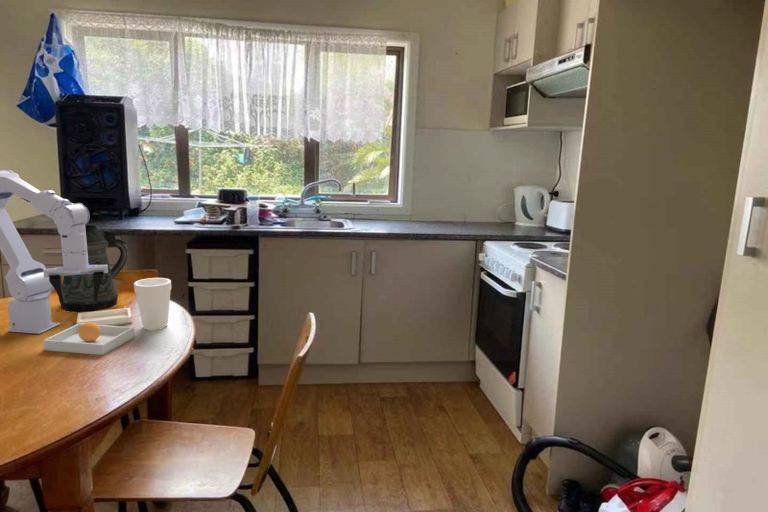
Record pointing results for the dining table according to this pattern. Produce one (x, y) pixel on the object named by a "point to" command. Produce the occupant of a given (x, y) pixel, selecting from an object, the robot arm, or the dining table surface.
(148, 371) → the dining table surface
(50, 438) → the dining table surface
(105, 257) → the beer stein
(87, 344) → the tray
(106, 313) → the dish
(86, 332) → the ball
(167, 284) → the foam cup
